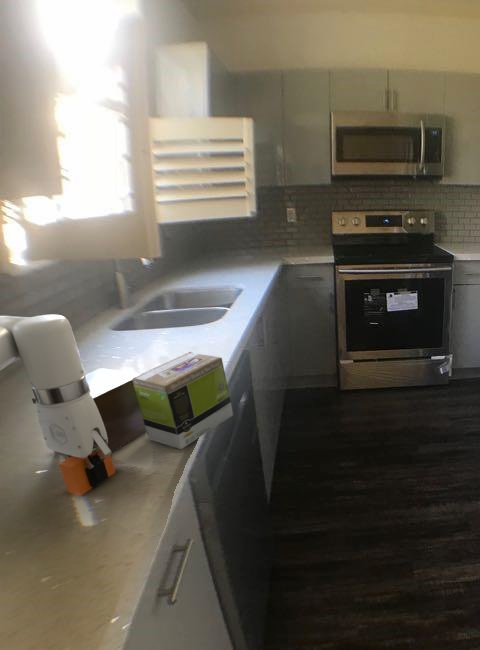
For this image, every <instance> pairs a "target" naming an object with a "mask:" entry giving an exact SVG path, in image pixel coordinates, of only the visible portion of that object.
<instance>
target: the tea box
mask: <svg viewBox="0 0 480 650" xmlns="http://www.w3.org/2000/svg"><path fill="white" fill-rule="evenodd" d="M132 380H133V384H134V388H135V391H136V395H137V398H138V402H139V405H140V409H141V413H142V417H143V421H144V424H145V427H146V431H147V432H146V433H147V434H146V435H147V437H148V439H149V440H150V441H154V442H157V443H160V444H163V445H165V446H169V447H172V448H176V449H179V450H182V449H184V448H185V447H187V446H188V445H190V444H192V443H193V442H195V441H196V440H198V439H199V438H201V437H202V436H204V435H205V434H206V433H208V432H210V431H212V430H213V429H215V428H216V427H218V426H220V425H221V424H222V423H224V422H226V421H227V420H229V419H230V418H231V417H233V416H234V412H233V407H232V402H231V397H230V392H229V386H228V381H227V377H226V372H225V366H224V362H223V358H222V357H220V356H213V355H209V354H208V355H207V354H202V353H196V352H192V351H189V352H187V353H184V354H182V355H179V356H177V357H176V358H173V359H171V360H169V361H167V362H164V363H162V364H160V365H157V366H155V367H153V368H151V369H149V370H146V371H144V372H143V373H140V375H138V376H136V377H133V378H132Z"/></svg>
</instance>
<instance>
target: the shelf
mask: <svg viewBox="0 0 480 650" xmlns="http://www.w3.org/2000/svg"><path fill="white" fill-rule="evenodd" d="M85 374H86V378H87V381H88V384H89V387H90V391H91V392H90V395H91V396H92V398H93V400H94V402H95V404H96V406H97V408H98V411H99V413H100V416H101V418H102V421H103V424H104V427H105V430H106V433H107V438H108V443H107V445H108V447H109V449H110V450H111V452H112V454H113V453H114V452H116V451H118V450H120V449H121V448H123V447H124V446H126V445H127V444H129V443H131V442H132V441H134V440H135V439H137V438H139V437H140V436H142V435H143V434H146V433H147V431H146V427H145V424H144V421H143V417H142V413H141V409H140V405H139V402H138V398H137V395H136V391H135V388H134V384H133V380H132V378H133V377H136V376H138V375H140V374H141V373H140V374H139V373H133V372H128V371H121V370H116V369H109V368H104V367H100V368H97V369H95V370H93V371H90V372H88V373H85ZM31 402H32V403H33V404H35V405H36V398H35V396H33V397H32V396H31ZM53 452H54V455H58V456H61V457H64V454H63V453H60V452H56V451H53Z"/></svg>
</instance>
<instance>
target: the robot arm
mask: <svg viewBox="0 0 480 650" xmlns="http://www.w3.org/2000/svg"><path fill="white" fill-rule="evenodd" d="M20 360H21V362H22V365H23V367H24V370H25V374H26V377H27V379H28V381H29V384H30V387H31V390H32V392H33V395H34V396H33V397H35V398H36V404H35V407H36V412H37V417H38V423H39V425H40V430H41V432H42V437H43V439H44V442H45V445H46V447H47V448H48V450H51V451H53V452H54V451H56V452H60V453H63V454H64V456H63V458H64V460H65V459H67V458H69V457H71V456H75V457H79V458H83V459H84V461H85V464H86V466H87V468H86V469H85V471H86V474H87V477H88V480H89V484H90V486H91V487H93V488H92V489H94V488H96V487H98V486H99V485H101V484H102V483H103V482H105V481H106V480H108V479H109V477H108V473H107V470H106V467H105V464H104V460H105V458H106V457H107V456H109V455H112V454H113V453H112V452H111V450H110V449H109V447H108V446H107V443H108V438H107V433H106V430H105V427H104V424H103V421H102V418H101V416H100V413H99V411H98V408H97V406H96V404H95V402H94V400H93V398H92V396H91V395H90V392H91V391H90V387H89V384H88V381H87V378H86V374H87V373H86V371H85V367H84V365H83V361H82V358H81V355H80V351H79V347H78V345H77V341H76V339H75V335H74V332H73V328H72V325H71V323H70V321H69V319H68V318H66V317H65V316H63V315H61V314H42V315H35V316H31V317H30V316H29V317H28V316H14V315H13V316H12V315H0V371H2V370H4V369H5V368H6V367H7V366H10V365H12V364H13V363H15V362H18V361H20ZM93 452H95V453H96V455H94V456H93V457H92V459H91V457H90V454H92V453H93Z"/></svg>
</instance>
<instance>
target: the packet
mask: <svg viewBox="0 0 480 650" xmlns="http://www.w3.org/2000/svg"><path fill="white" fill-rule="evenodd" d="M107 446H108V445H107ZM94 455H96V453H95V452H93V453H92V454H90V457H91V459H92V457H93V456H94ZM111 455H112V454H110V455H109V456H107V457H106V458H105V460H104V464H105V467H106V470H107V473H108V478H110V477H111V476H113V475H115V474H116V469H115V465H114V463H113V458H112V456H111ZM58 467H59V470H60V472H61V476H62V479H63V481H64V485H65V486H66V490H67V492H68V493H71V494H73V495H76V496H79V497H80V496H83V495H84V494H86V493H88V492H89V491H90V490H92V489H94V488H93V487H91V486H90V484H89V480H88V477H87V474H86V471H85V469H86V468H87V466H86V464H85V461H84V459H83V458H79V457H75V456H71V457H69V458H67V459H65V458H64V460H62V461H60V462H58Z"/></svg>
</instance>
